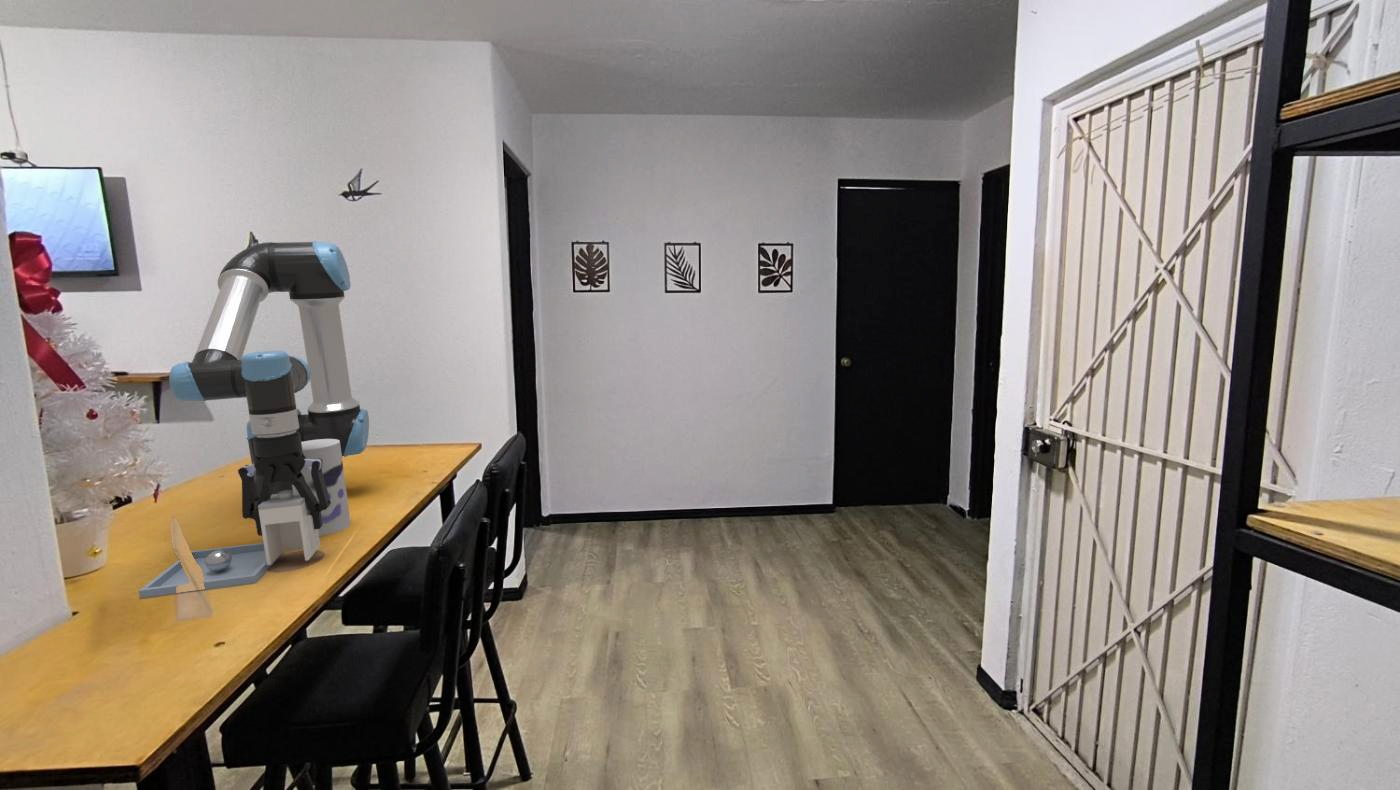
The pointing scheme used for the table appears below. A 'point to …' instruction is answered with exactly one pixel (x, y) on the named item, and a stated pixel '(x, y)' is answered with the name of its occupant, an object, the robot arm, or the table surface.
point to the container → (329, 483)
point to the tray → (241, 571)
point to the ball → (218, 561)
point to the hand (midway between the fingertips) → (293, 547)
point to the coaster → (295, 561)
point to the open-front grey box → (285, 525)
